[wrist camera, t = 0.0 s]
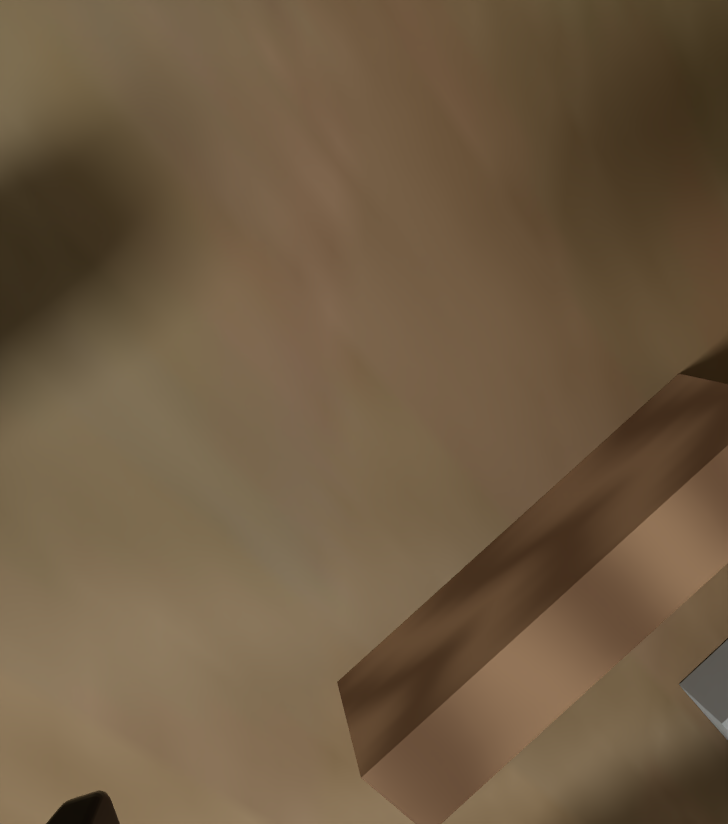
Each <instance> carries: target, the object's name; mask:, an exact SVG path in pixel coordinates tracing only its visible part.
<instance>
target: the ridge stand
mask: <svg viewBox="0 0 728 824" xmlns="http://www.w3.org/2000/svg"><path fill="white" fill-rule="evenodd" d="M679 685H680V686H681V687H682V688H683V690H684V691H685V692H686V693H687V694H688V695H689V697H690V698H691V699H692V700H693V701H694V702H695V703H696V705H697V706H698V707H699V708H700V709H701V710H702V712H703V713H704V714H705V715H706V716H707V717H708V718H709V720H710V721H711V722H712V723H713V724H714V725H715V727H716V728H717V729H718V730H719V731H720V732H721V733H722V735H723V736H724V737H725V738H726V739H727V740H728V640H726V641H725V642H724V643H723V644H722V645H721V646H720V647H719V648H718V649H717V650H716V651H715V652H714V653H712V654H711V655H710V656H709V657H708V658H707V659H706V660H705V661H704V662H703V663H702V664H701V665H700V666H698V667H697V668H696V669H695V670H694V671H693V672H692V673H691V674H690V675H689V676H688V677H687V678H686V679H685V680H683V681H682V682H681V683H680V684H679Z"/></svg>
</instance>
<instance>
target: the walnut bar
mask: <svg viewBox="0 0 728 824" xmlns="http://www.w3.org/2000/svg"><path fill="white" fill-rule="evenodd" d="M727 563H728V384H725V383H720V382H716V381H711V380H706V379H701V378H697V377H692V376H687V375H683V374H678V375H677V376H675V377H674V378H673V379H672V380H671V381H670V382H669V383H668V384H667V385H666V386H664V387H663V388H662V389H661V390H660V391H659V392H658V393H657V394H656V395H654V396H653V397H652V398H651V399H650V400H649V401H648V402H647V403H646V404H644V405H643V406H642V407H641V408H640V409H639V410H638V411H637V412H636V413H635V414H633V415H632V416H631V417H630V418H629V419H628V420H627V421H626V422H625V423H623V424H622V425H621V426H620V427H619V428H618V429H617V430H616V431H615V432H614V433H612V434H611V435H610V436H609V437H608V438H607V439H606V440H605V441H604V442H602V443H601V444H600V445H599V446H598V447H597V448H596V449H595V450H594V451H592V452H591V453H590V454H589V455H588V456H587V457H586V458H585V459H584V460H583V461H581V462H580V463H579V464H578V465H577V466H576V467H575V468H574V469H573V470H571V471H570V472H569V473H568V474H567V475H566V476H565V477H564V478H563V479H562V480H560V481H559V482H558V483H557V484H556V485H555V486H554V487H553V488H552V489H550V490H549V491H548V492H547V493H546V494H545V495H544V496H543V497H542V498H540V499H539V500H538V501H537V502H536V503H535V504H534V505H533V506H532V507H531V508H529V509H528V510H527V511H526V512H525V513H524V514H523V515H522V516H521V517H519V518H518V519H517V520H516V521H515V522H514V523H513V524H512V525H511V526H510V527H508V528H507V529H506V530H505V531H504V532H503V533H502V534H501V535H500V536H498V537H497V538H496V539H495V540H494V541H493V542H492V543H491V544H490V545H488V546H487V547H486V548H485V549H484V550H483V551H482V552H481V553H480V554H479V555H477V556H476V557H475V558H474V559H473V560H472V561H471V562H470V563H469V564H467V565H466V566H465V567H464V568H463V569H462V570H461V571H460V572H459V573H458V574H456V575H455V576H454V577H453V578H452V579H451V580H450V581H449V582H448V583H446V584H445V585H444V586H443V587H442V588H441V589H440V590H439V591H438V592H436V593H435V594H434V595H433V596H432V597H431V598H430V599H429V600H428V601H427V602H425V603H424V604H423V605H422V606H421V607H420V608H419V609H418V610H417V611H415V612H414V613H413V614H412V615H411V616H410V617H409V618H408V619H407V620H405V621H404V622H403V623H402V624H401V625H400V626H399V627H398V628H397V629H396V630H394V631H393V632H392V633H391V634H390V635H389V636H388V637H387V638H386V639H384V640H383V641H382V642H381V643H380V644H379V645H378V646H377V647H376V648H375V649H373V650H372V651H371V652H370V653H369V654H368V655H367V656H366V657H365V658H363V659H362V660H361V661H360V662H359V663H358V664H357V665H356V666H355V667H353V668H352V669H351V670H350V671H349V672H348V673H347V674H346V675H345V676H344V677H342V678H341V679H340V680H339V681H338V682H337V683H338V687H339V691H340V695H341V699H342V703H343V707H344V711H345V715H346V719H347V723H348V727H349V731H350V735H351V739H352V743H353V747H354V751H355V755H356V759H357V763H358V767H359V771H360V775H361V778H362V779H363V780H364V781H366V782H367V783H368V784H369V785H370V786H371V787H373V788H374V789H375V790H376V791H377V792H379V793H380V794H381V795H382V796H383V797H384V798H386V799H387V800H388V801H389V802H390V803H391V804H393V805H394V806H395V807H396V808H397V809H399V810H400V811H401V812H402V813H403V814H404V815H406V816H407V817H408V818H409V819H410V820H412V821H413V822H414V823H415V824H441V823H442V822H443V821H445V820H446V819H447V818H448V817H449V816H450V815H451V814H452V813H453V812H454V811H456V810H457V809H458V808H459V807H460V806H461V805H462V804H463V803H464V802H465V801H467V800H468V799H469V798H470V797H471V796H472V795H473V794H474V793H475V792H476V791H478V790H479V789H480V788H481V787H482V786H483V785H484V784H485V783H486V782H487V781H489V780H490V779H491V778H492V777H493V776H494V775H495V774H496V773H497V772H498V771H500V770H501V769H502V768H503V767H504V766H505V765H506V764H507V763H508V762H509V761H511V760H512V759H513V758H514V757H515V756H516V755H517V754H518V753H519V752H520V751H522V750H523V749H524V748H525V747H526V746H527V745H528V744H529V743H530V742H531V741H533V740H534V739H535V738H536V737H537V736H538V735H539V734H540V733H541V732H542V731H544V730H545V729H546V728H547V727H548V726H549V725H550V724H551V723H552V722H553V721H555V720H556V719H557V718H558V717H559V716H560V715H561V714H562V713H563V712H564V711H565V710H567V709H568V708H569V707H570V706H571V705H572V704H573V703H574V702H575V701H576V700H578V699H579V698H580V697H581V696H582V695H583V694H584V693H585V692H586V691H587V690H589V689H590V688H591V687H592V686H593V685H594V684H595V683H596V682H597V681H598V680H600V679H601V678H602V677H603V676H604V675H605V674H606V673H607V672H608V671H609V670H611V669H612V668H613V667H614V666H615V665H616V664H617V663H618V662H619V661H620V660H622V659H623V658H624V657H625V656H626V655H627V654H628V653H629V652H630V651H631V650H633V649H634V648H635V647H636V646H637V645H638V644H639V643H640V642H641V641H642V640H644V639H645V638H646V637H647V636H648V635H649V634H650V633H651V632H652V631H653V630H655V629H656V628H657V627H658V626H659V625H660V624H661V623H662V622H663V621H664V620H666V619H667V618H668V617H669V616H670V615H671V614H672V613H673V612H674V611H675V610H677V609H678V608H679V607H680V606H681V605H682V604H683V603H684V602H685V601H686V600H688V599H689V598H690V597H691V596H692V595H693V594H694V593H695V592H696V591H697V590H699V589H700V588H701V587H702V586H703V585H704V584H705V583H706V582H707V581H708V580H710V579H711V578H712V577H713V576H714V575H715V574H716V573H717V572H718V571H719V570H721V569H722V568H723V567H724V566H725V565H726V564H727Z"/></svg>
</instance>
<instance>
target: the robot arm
mask: <svg viewBox="0 0 728 824" xmlns="http://www.w3.org/2000/svg"><path fill="white" fill-rule="evenodd" d="M46 824H120V823H119V820H118V818H117V815H116V812H115V809H114V807H113V804H112V801H111V799H110V797H109V796H108V794H107V793H106V792H104V791H96V792H92V793H89V794H86V795H83V796H80V797H76V798H73V799H71V800H68V801H66V802H65V803H64V804H63V805H62V806H61V807H60V808H59V809H58V810H57V811H56V812H55V814H54V815H53V816H52V817H51V818H50V820H49V821H48V822H47V823H46Z"/></svg>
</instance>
